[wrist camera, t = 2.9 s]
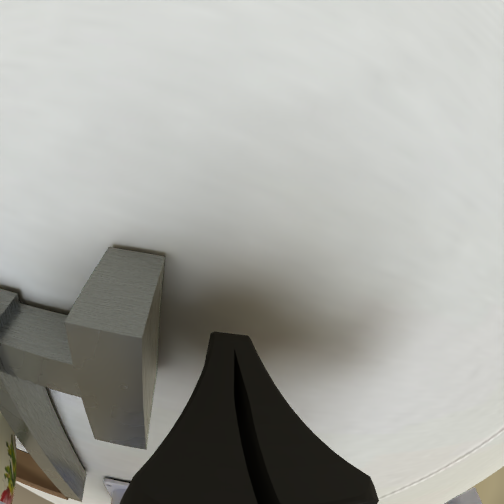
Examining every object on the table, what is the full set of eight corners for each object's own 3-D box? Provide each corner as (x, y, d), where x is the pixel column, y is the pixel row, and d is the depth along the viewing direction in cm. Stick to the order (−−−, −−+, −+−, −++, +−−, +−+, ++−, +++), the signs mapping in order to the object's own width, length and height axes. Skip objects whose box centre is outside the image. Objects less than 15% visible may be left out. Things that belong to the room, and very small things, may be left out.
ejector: (158, 488, 20) (156, 527, 17) (71, 469, 19) (64, 506, 15) (164, 256, 10) (141, 338, 7) (-19, 223, 9) (-79, 275, 5)
